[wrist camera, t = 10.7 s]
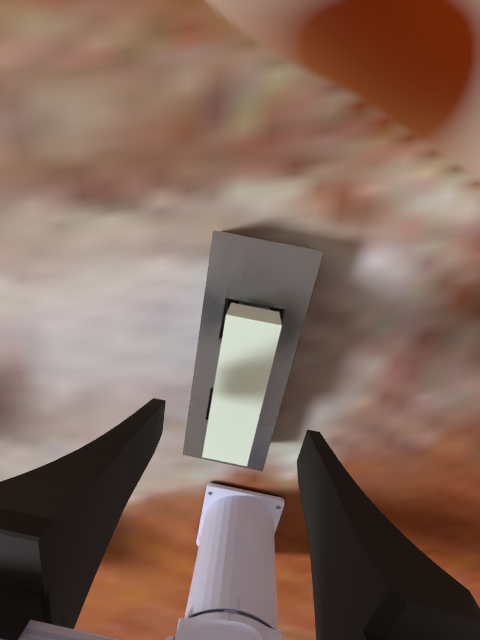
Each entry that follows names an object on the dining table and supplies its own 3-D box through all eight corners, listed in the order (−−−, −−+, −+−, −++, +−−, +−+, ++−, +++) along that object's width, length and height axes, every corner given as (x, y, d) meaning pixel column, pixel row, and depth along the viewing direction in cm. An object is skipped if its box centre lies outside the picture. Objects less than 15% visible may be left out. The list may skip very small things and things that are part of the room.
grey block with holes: (262, 443, 24) (262, 471, 21) (192, 428, 24) (182, 454, 21) (314, 249, 18) (323, 251, 15) (220, 231, 18) (213, 230, 16)
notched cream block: (250, 404, 23) (246, 466, 17) (218, 397, 23) (201, 457, 17) (275, 296, 20) (281, 325, 13) (237, 289, 20) (226, 314, 14)
